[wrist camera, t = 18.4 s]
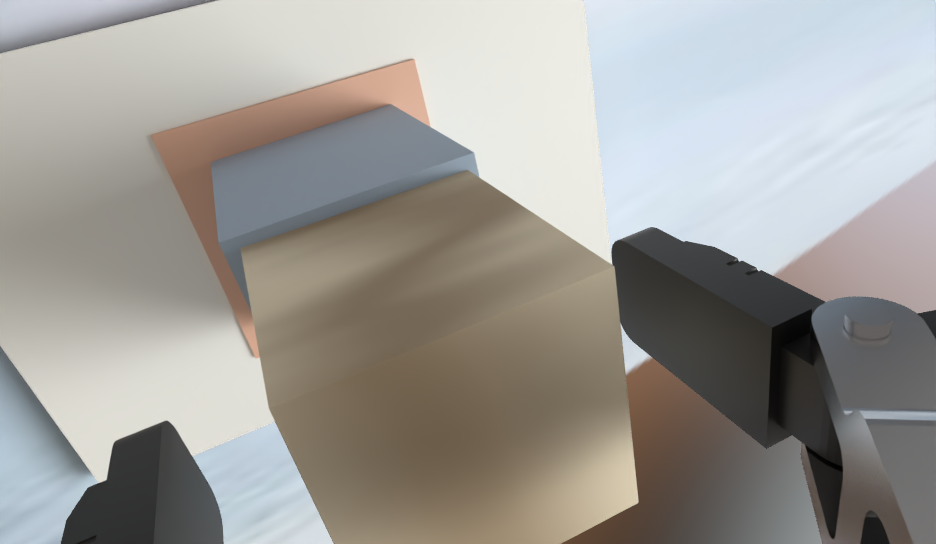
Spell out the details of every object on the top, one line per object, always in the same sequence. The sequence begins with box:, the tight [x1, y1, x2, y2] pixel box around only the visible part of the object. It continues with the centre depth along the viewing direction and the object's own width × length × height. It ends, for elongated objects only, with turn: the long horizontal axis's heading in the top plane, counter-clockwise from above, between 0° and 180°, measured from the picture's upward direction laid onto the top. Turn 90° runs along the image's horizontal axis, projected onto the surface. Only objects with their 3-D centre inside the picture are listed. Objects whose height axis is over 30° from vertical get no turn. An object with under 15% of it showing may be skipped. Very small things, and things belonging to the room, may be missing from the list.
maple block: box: [240, 170, 638, 544], centre depth 11 cm, size 4×4×5 cm
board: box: [0, 0, 612, 483], centre depth 18 cm, size 18×12×1 cm, turn 102°
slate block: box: [211, 104, 480, 313], centre depth 15 cm, size 5×5×6 cm
